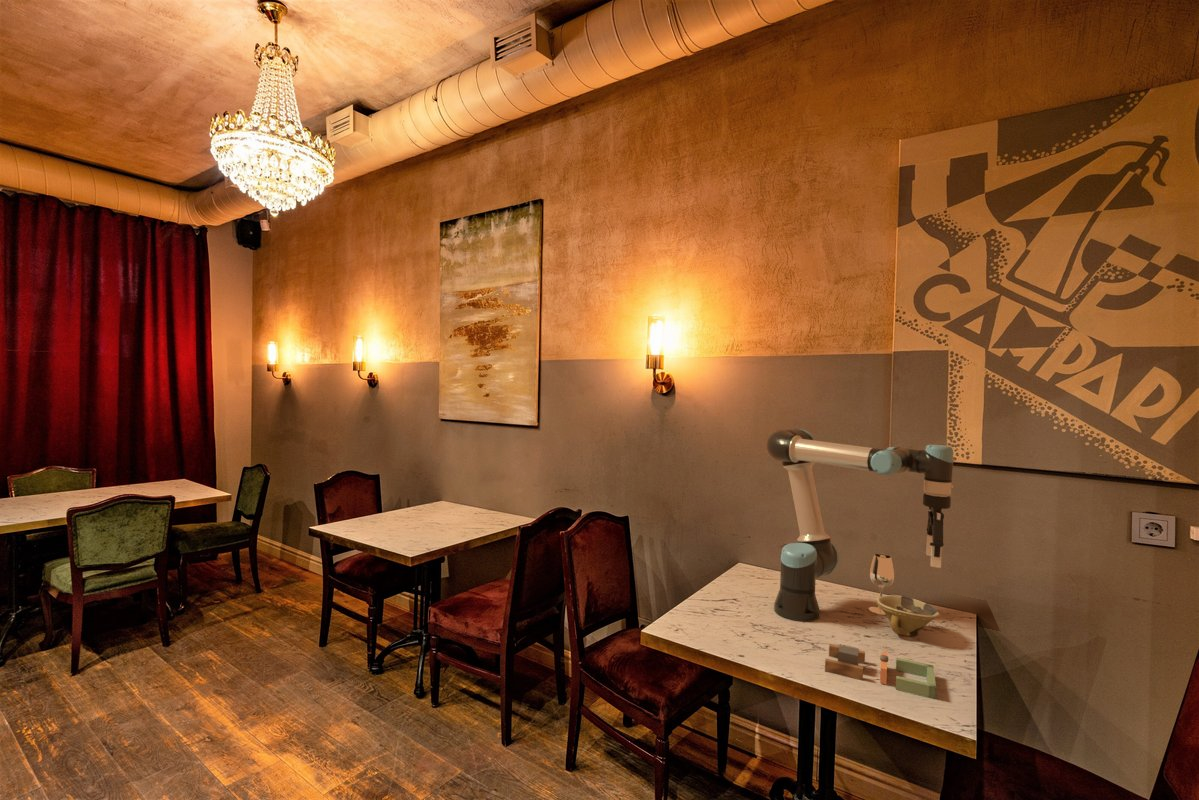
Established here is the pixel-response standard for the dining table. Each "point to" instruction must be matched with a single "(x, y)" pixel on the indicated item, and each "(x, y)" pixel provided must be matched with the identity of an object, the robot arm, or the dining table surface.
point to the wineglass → (881, 575)
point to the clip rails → (844, 664)
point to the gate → (883, 667)
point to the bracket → (914, 685)
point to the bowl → (906, 614)
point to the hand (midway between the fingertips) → (933, 561)
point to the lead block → (848, 655)
